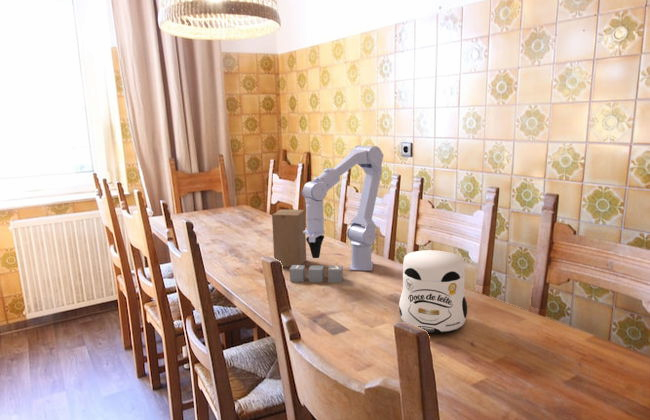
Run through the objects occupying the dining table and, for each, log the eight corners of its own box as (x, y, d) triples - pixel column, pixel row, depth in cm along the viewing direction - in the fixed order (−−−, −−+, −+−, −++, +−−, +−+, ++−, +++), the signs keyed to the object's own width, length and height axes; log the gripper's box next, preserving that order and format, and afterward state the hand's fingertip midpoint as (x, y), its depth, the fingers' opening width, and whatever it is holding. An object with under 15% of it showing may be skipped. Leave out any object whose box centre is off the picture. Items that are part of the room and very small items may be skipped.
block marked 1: (292, 277, 159) (292, 264, 158) (305, 277, 158) (305, 264, 157) (290, 281, 154) (289, 268, 154) (303, 282, 154) (302, 268, 153)
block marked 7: (329, 278, 157) (329, 265, 156) (342, 278, 157) (342, 265, 156) (328, 282, 153) (327, 269, 152) (341, 283, 152) (341, 269, 151)
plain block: (311, 277, 158) (310, 265, 157) (324, 278, 157) (323, 265, 156) (308, 282, 154) (308, 269, 153) (322, 282, 153) (321, 269, 152)
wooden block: (300, 268, 168) (298, 215, 164) (274, 267, 170) (271, 214, 166) (306, 260, 177) (304, 209, 173) (281, 259, 179) (279, 209, 175)
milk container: (418, 344, 110) (419, 272, 107) (388, 315, 126) (388, 252, 123) (480, 333, 115) (483, 264, 111) (444, 306, 131) (445, 246, 128)
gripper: (306, 213, 159) (307, 251, 161) (298, 222, 145) (300, 263, 147) (326, 213, 158) (327, 251, 161) (320, 223, 144) (321, 264, 146)
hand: (315, 257), depth 154 cm, fingers closed
